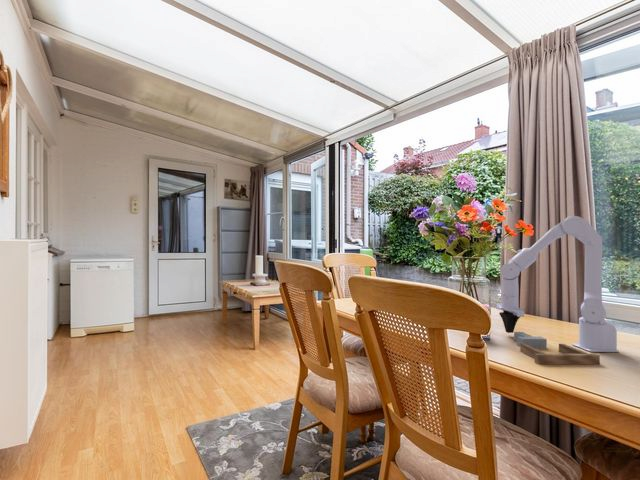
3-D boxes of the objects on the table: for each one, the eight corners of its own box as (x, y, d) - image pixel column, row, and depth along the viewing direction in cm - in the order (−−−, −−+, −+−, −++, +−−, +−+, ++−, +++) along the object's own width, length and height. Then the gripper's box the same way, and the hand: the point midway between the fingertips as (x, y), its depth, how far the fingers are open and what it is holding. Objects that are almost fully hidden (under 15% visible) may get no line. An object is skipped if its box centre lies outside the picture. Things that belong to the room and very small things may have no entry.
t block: (529, 340, 122) (529, 332, 122) (546, 348, 113) (546, 339, 113) (507, 340, 122) (507, 331, 122) (522, 348, 113) (522, 339, 113)
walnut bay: (569, 351, 109) (569, 343, 109) (599, 364, 98) (599, 355, 98) (514, 351, 109) (514, 343, 109) (537, 364, 97) (537, 355, 98)
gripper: (489, 292, 134) (488, 327, 134) (510, 298, 120) (510, 337, 120) (506, 292, 135) (506, 327, 134) (530, 298, 120) (530, 337, 120)
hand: (509, 332), depth 127 cm, fingers closed
